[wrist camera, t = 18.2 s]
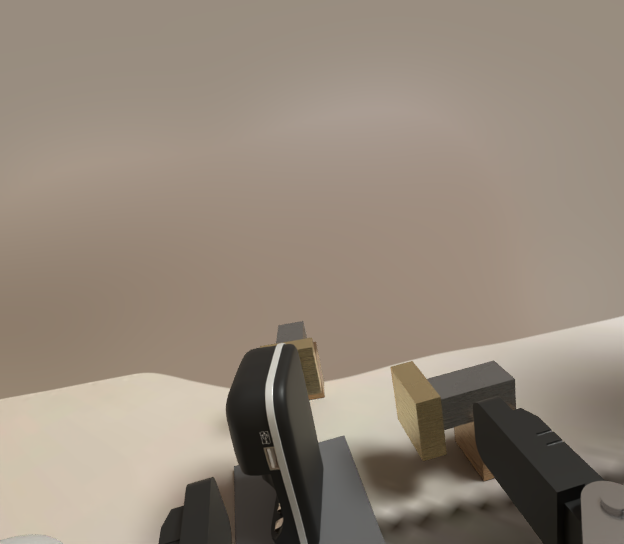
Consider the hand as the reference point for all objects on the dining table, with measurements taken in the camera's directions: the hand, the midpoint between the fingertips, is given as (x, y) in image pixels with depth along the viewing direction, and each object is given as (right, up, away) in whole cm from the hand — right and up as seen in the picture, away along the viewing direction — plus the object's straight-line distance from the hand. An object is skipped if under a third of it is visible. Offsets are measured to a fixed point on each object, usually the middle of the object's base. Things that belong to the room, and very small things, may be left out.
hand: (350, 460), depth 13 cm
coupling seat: (-2, -11, +17) cm, 20 cm away
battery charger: (-2, -10, +17) cm, 20 cm away
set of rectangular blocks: (+4, -7, +24) cm, 25 cm away
